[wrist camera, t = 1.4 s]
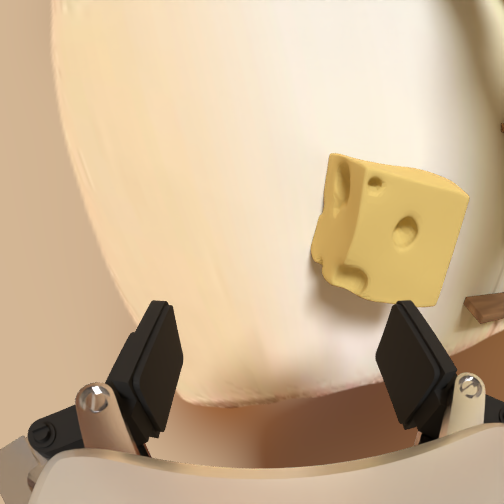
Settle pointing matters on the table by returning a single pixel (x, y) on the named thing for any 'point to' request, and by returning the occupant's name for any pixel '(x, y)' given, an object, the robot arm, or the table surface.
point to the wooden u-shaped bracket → (486, 301)
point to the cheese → (387, 230)
